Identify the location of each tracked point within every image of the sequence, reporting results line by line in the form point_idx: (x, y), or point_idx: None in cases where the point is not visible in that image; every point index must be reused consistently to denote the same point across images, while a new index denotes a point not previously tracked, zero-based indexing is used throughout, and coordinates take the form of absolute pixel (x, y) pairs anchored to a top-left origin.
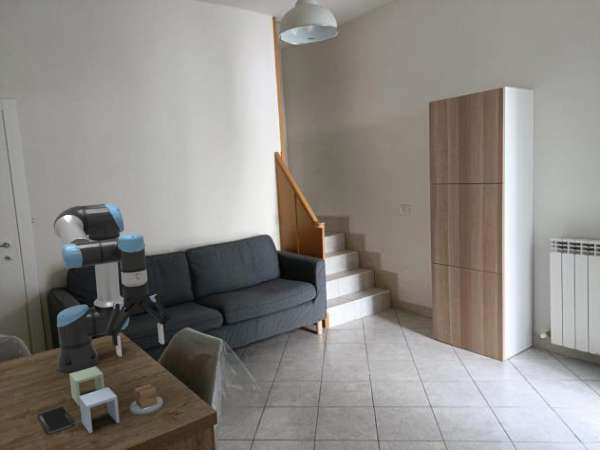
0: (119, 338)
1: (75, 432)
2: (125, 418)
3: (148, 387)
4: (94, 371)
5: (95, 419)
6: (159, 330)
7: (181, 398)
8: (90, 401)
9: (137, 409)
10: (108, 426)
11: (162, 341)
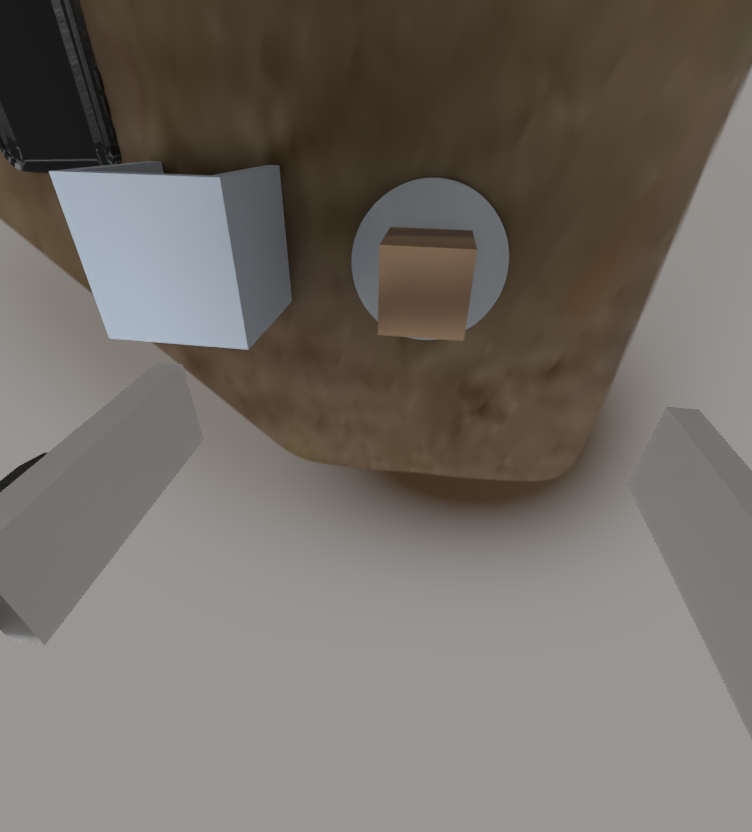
0: (66, 599)
1: None
2: (319, 289)
3: (444, 293)
4: None
5: None
6: (735, 598)
7: (583, 312)
8: (122, 300)
9: (371, 292)
10: None
11: (646, 509)
